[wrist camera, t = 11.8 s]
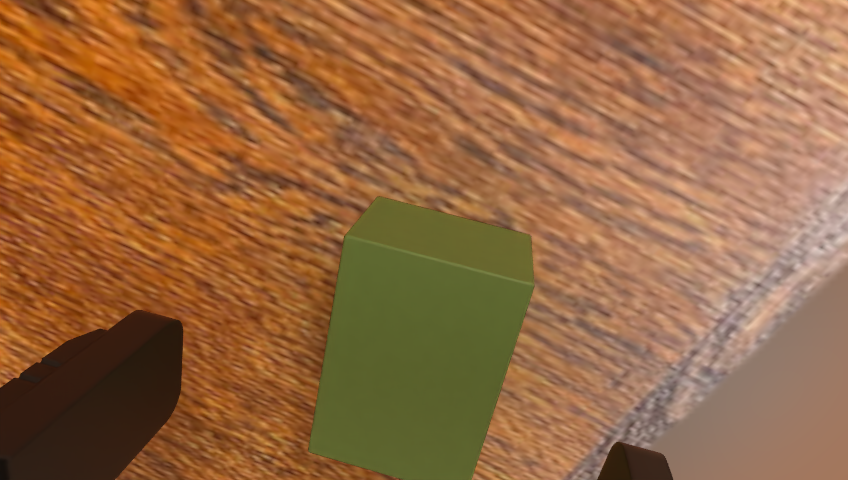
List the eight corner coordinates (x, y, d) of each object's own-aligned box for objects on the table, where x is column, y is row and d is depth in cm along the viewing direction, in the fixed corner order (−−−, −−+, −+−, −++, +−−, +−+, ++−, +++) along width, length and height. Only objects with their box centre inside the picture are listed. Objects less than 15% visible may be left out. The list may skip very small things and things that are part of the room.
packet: (377, 195, 13) (343, 234, 11) (531, 234, 13) (535, 284, 10) (342, 382, 15) (306, 452, 13) (474, 419, 15) (465, 499, 13)
